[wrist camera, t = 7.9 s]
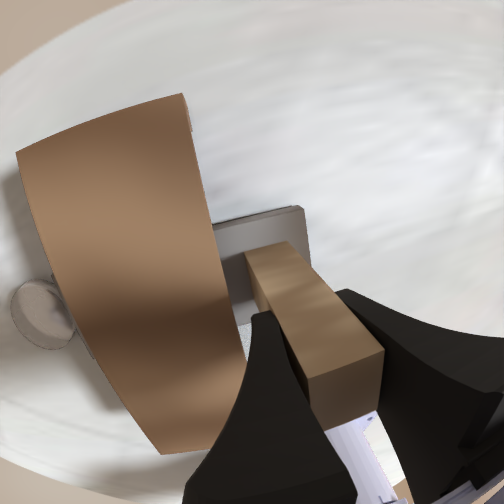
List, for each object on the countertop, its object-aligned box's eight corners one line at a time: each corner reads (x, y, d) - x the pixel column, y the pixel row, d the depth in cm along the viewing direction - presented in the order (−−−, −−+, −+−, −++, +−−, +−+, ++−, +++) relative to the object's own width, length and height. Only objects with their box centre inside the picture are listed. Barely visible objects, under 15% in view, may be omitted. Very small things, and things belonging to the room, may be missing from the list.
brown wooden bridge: (254, 386, 18) (267, 436, 15) (162, 404, 18) (160, 455, 14) (187, 104, 12) (182, 92, 8) (60, 144, 11) (15, 152, 8)
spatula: (297, 204, 14) (422, 293, 6) (309, 296, 16) (399, 418, 8) (56, 268, 13) (-30, 396, 5) (95, 349, 15) (62, 489, 7)
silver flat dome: (79, 345, 16) (74, 356, 15) (22, 330, 15) (16, 340, 14) (76, 286, 14) (70, 295, 13) (15, 272, 13) (7, 280, 12)
